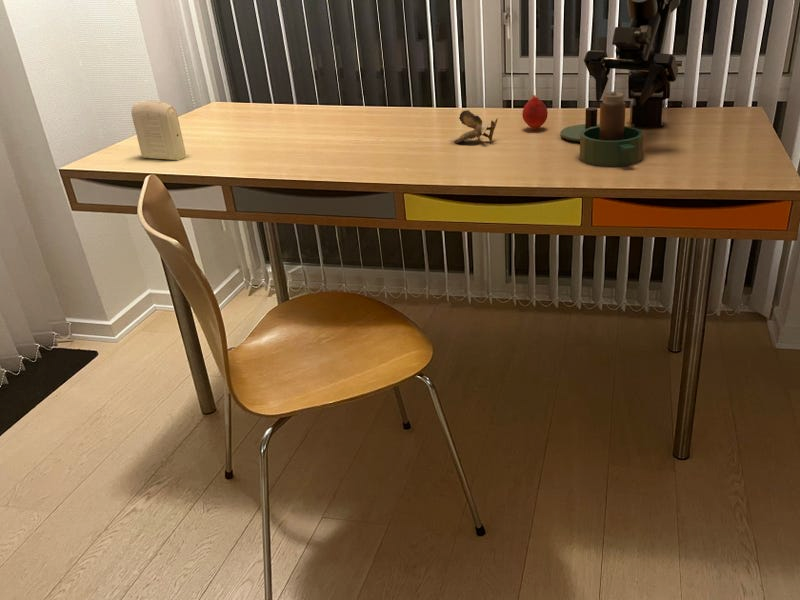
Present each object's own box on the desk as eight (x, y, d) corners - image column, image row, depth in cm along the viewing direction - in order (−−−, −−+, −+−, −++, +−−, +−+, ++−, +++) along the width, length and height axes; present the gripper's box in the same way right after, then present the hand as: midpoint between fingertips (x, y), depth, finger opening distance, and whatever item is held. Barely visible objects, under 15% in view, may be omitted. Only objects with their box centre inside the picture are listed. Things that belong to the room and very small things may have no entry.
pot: (620, 143, 174) (622, 120, 172) (658, 165, 159) (659, 140, 157) (566, 149, 172) (566, 126, 169) (598, 173, 157) (599, 147, 154)
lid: (607, 126, 187) (607, 99, 184) (631, 140, 176) (632, 112, 173) (552, 132, 185) (552, 105, 182) (573, 147, 173) (573, 118, 170)
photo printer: (189, 155, 181) (177, 99, 174) (178, 161, 177) (164, 104, 171) (151, 153, 183) (137, 98, 177) (139, 159, 180) (124, 102, 174)
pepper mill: (615, 150, 168) (618, 87, 162) (627, 156, 164) (630, 92, 158) (594, 153, 167) (596, 90, 160) (605, 159, 163) (608, 95, 156)
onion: (547, 126, 190) (547, 91, 186) (547, 132, 185) (547, 97, 181) (523, 126, 190) (522, 92, 186) (522, 133, 185) (521, 97, 181)
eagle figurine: (497, 130, 183) (459, 123, 184) (498, 108, 177) (459, 100, 178) (489, 156, 180) (451, 148, 181) (489, 134, 174) (450, 126, 175)
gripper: (588, 8, 162) (565, 75, 160) (678, 10, 154) (655, 81, 152) (602, 42, 172) (580, 106, 170) (687, 46, 164) (665, 114, 161)
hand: (618, 101), depth 163 cm, fingers open, 9 cm apart
